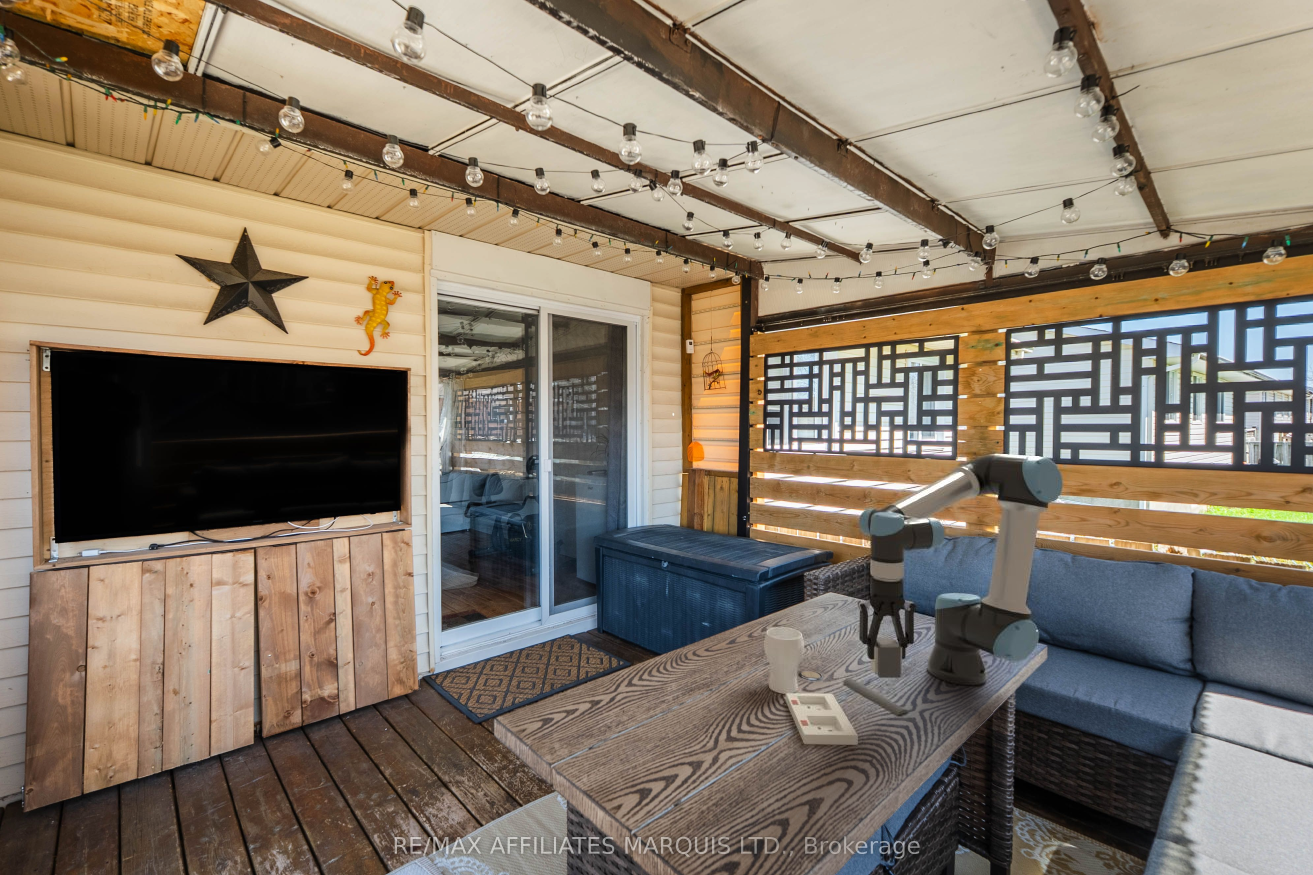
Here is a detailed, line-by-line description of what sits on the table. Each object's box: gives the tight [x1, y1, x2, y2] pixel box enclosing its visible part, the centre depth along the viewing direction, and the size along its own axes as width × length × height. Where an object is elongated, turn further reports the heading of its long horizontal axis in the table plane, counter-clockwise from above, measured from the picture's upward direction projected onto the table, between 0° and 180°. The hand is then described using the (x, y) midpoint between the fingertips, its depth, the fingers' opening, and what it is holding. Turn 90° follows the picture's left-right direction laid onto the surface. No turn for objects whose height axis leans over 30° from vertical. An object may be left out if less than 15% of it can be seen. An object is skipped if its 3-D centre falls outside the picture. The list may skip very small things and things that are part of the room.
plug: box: [875, 636, 902, 679], centre depth 143 cm, size 5×5×8 cm
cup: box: [763, 626, 805, 695], centre depth 160 cm, size 11×11×15 cm
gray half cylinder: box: [842, 677, 909, 716], centre depth 155 cm, size 4×20×2 cm, turn 25°
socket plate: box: [785, 692, 859, 746], centre depth 143 cm, size 12×20×2 cm, turn 179°
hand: (886, 671), depth 143 cm, fingers closed on plug, 5 cm apart
